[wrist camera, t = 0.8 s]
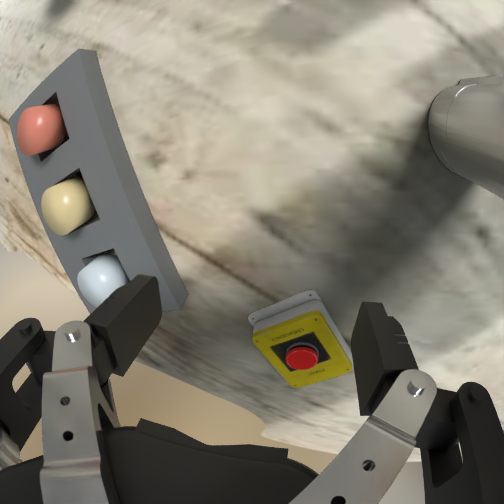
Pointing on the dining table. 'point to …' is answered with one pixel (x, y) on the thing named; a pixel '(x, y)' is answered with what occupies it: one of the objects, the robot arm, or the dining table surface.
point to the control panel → (96, 181)
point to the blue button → (101, 278)
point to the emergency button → (301, 340)
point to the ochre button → (67, 205)
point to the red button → (40, 129)
